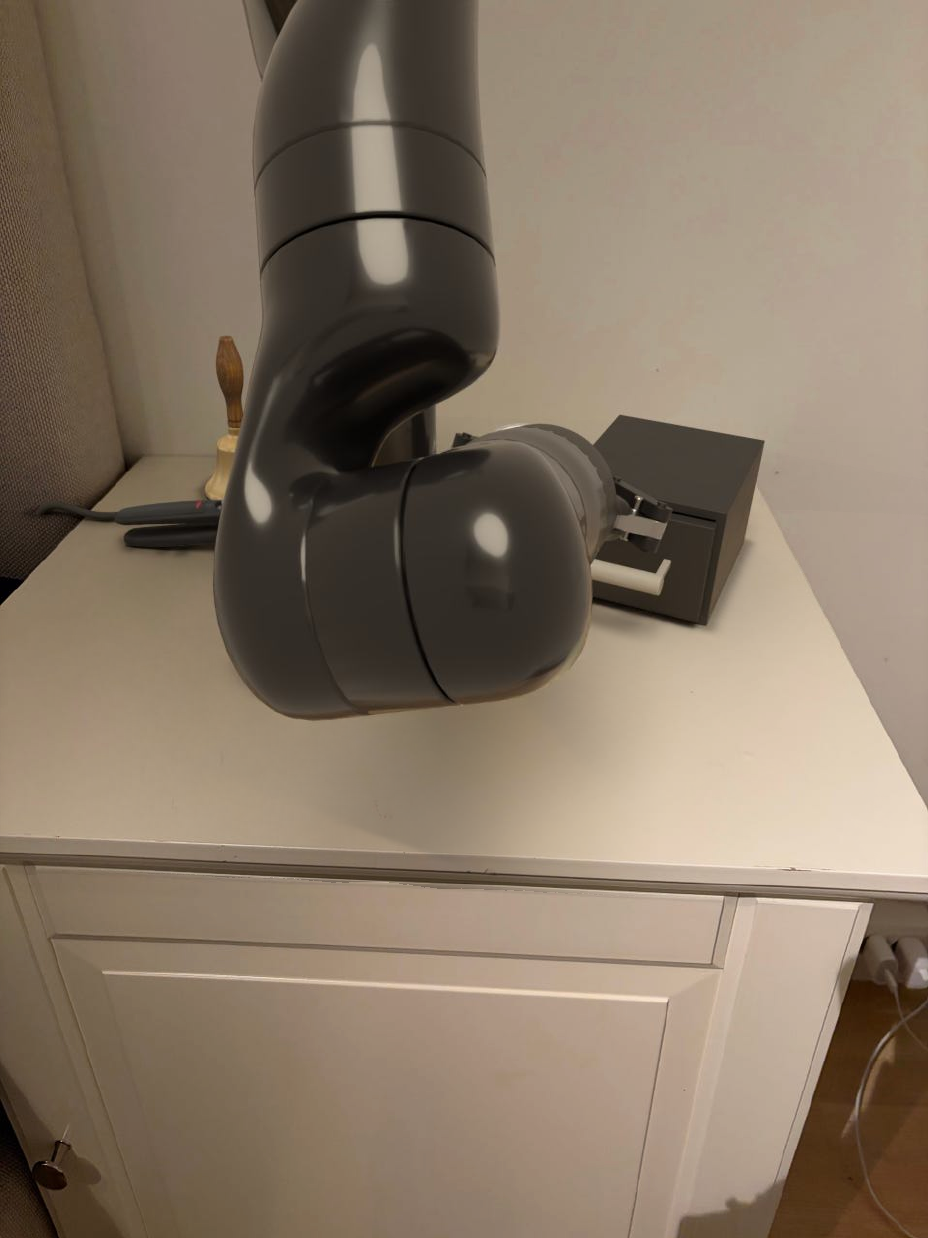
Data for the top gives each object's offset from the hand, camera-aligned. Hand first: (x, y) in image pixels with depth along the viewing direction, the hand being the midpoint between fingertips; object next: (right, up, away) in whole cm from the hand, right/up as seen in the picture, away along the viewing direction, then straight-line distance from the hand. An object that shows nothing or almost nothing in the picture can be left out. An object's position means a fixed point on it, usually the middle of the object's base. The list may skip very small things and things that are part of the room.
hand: (578, 476), depth 58 cm
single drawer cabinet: (+10, -4, +28) cm, 30 cm away
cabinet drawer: (+9, -5, +25) cm, 27 cm away
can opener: (-31, -3, +29) cm, 43 cm away
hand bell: (-30, +5, +40) cm, 50 cm away
